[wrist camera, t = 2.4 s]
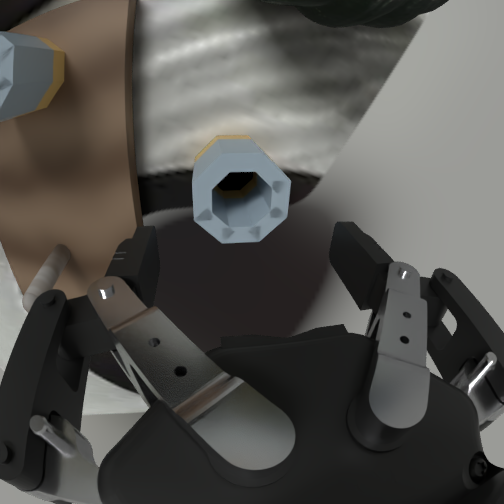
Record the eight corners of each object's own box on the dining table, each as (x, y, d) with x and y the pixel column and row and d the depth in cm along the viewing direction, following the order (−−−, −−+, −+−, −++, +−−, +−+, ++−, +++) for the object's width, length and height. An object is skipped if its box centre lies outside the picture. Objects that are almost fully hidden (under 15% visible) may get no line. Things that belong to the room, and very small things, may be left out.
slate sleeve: (194, 136, 18) (190, 154, 13) (269, 135, 19) (293, 153, 14) (196, 204, 21) (195, 244, 16) (264, 202, 22) (284, 240, 17)
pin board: (-10, 49, 9) (-79, 55, 2) (137, -4, 11) (97, -54, 4) (32, 286, 22) (-1, 350, 15) (153, 283, 24) (142, 364, 17)
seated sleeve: (9, 55, 9) (-43, 57, 4) (66, 32, 10) (18, 19, 5) (10, 120, 12) (-43, 139, 7) (64, 102, 13) (13, 113, 8)
